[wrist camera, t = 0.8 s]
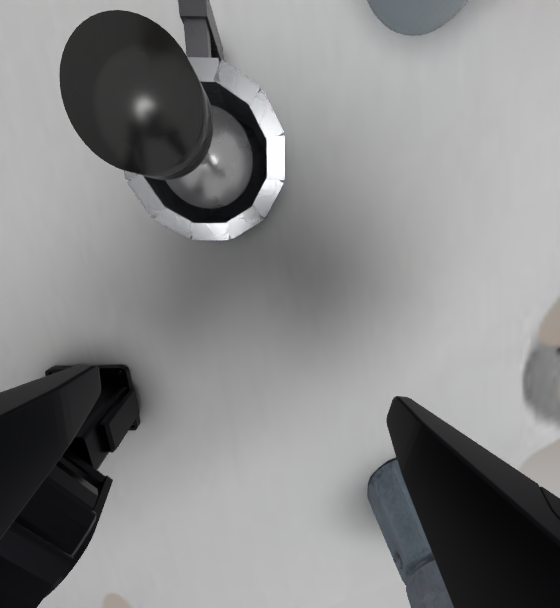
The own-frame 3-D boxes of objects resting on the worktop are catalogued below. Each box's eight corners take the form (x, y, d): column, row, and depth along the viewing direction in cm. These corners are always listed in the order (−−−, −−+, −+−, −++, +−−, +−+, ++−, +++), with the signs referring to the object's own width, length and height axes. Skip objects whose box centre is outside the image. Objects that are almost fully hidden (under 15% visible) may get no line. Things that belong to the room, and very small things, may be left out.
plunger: (168, 208, 15) (54, 206, 7) (154, 106, 13) (-10, -45, 5) (254, 208, 15) (238, 206, 7) (251, 107, 14) (227, -36, 6)
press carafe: (168, 233, 19) (135, 240, 15) (143, 47, 16) (91, -22, 11) (280, 232, 20) (284, 239, 15) (280, 50, 16) (285, -15, 12)
